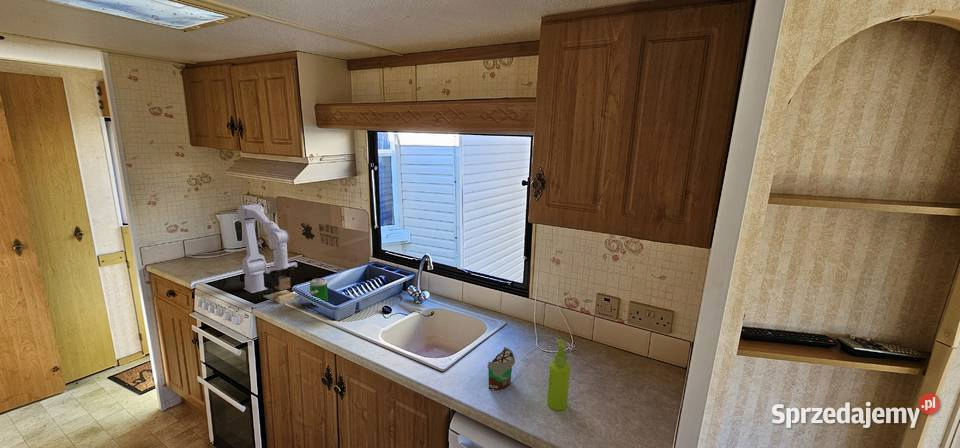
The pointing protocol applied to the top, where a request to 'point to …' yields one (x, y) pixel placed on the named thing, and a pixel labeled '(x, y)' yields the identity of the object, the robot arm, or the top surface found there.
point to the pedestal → (283, 296)
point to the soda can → (319, 288)
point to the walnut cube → (283, 283)
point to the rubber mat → (275, 301)
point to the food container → (501, 370)
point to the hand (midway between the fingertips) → (282, 284)
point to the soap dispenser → (559, 379)
